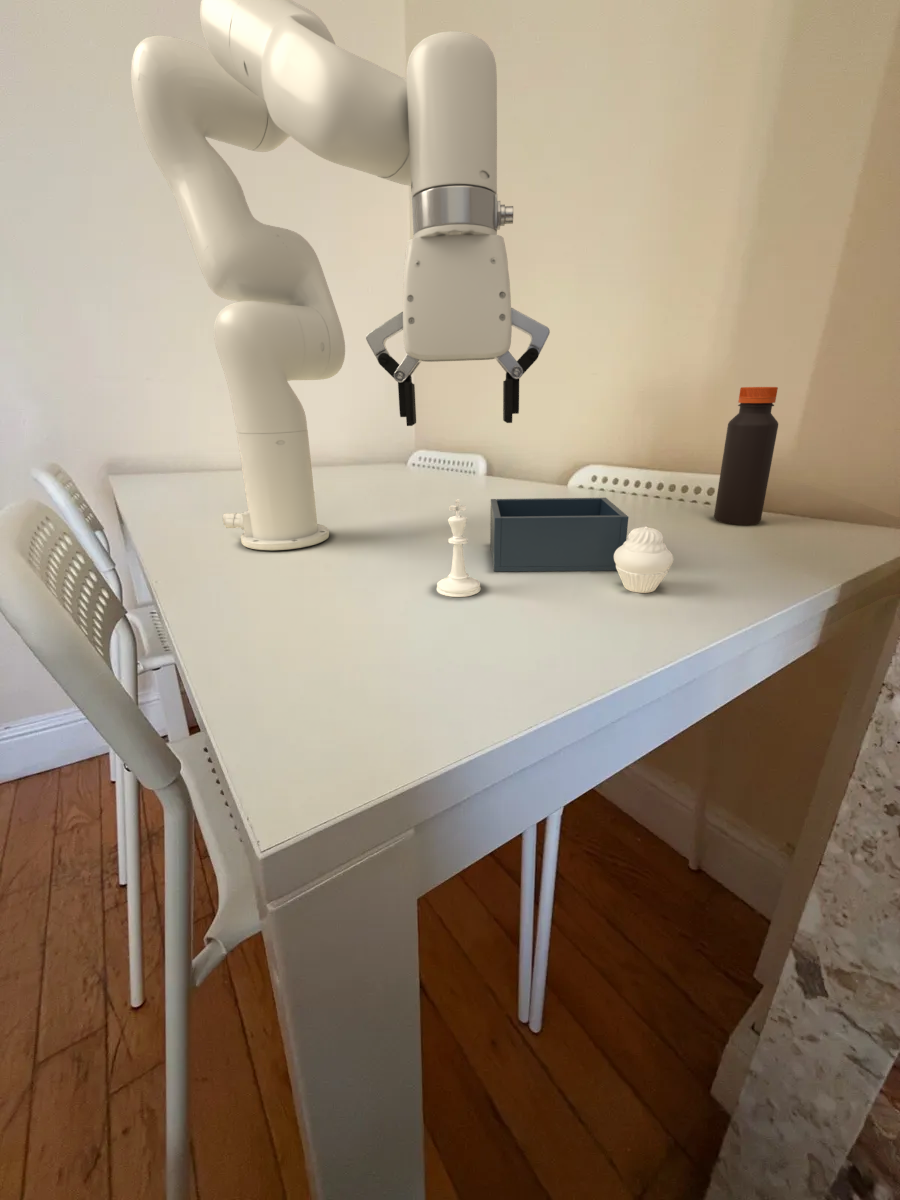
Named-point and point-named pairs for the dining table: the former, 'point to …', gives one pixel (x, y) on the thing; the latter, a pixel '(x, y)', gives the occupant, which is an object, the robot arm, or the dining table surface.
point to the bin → (556, 534)
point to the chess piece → (458, 561)
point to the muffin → (643, 560)
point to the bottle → (747, 458)
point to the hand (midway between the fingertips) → (459, 423)
